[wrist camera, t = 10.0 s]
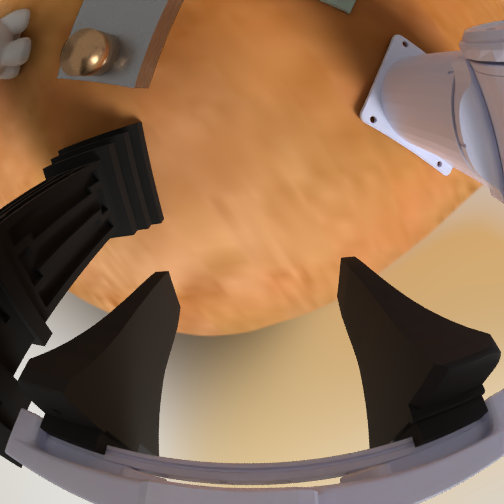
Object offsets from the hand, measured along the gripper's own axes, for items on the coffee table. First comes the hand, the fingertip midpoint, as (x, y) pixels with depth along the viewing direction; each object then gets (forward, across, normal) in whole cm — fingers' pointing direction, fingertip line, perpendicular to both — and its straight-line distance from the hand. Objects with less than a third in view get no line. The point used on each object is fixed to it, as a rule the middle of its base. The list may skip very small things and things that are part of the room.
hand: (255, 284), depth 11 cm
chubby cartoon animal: (+11, +22, -19) cm, 31 cm away
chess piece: (+11, +12, -3) cm, 16 cm away
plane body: (+10, +5, -21) cm, 24 cm away
